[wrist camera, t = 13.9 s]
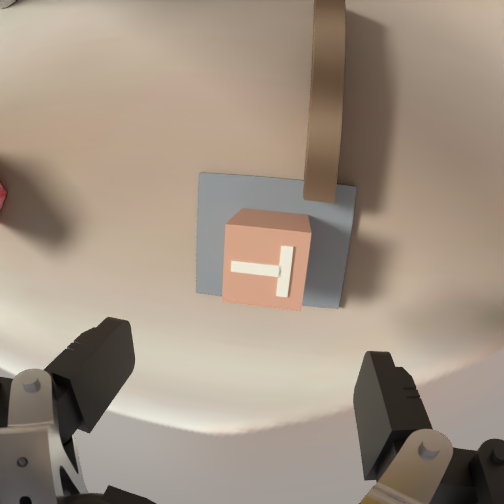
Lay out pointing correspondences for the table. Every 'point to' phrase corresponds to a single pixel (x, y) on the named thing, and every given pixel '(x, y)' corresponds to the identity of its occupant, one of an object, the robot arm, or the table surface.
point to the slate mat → (282, 200)
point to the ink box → (2, 195)
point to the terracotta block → (266, 258)
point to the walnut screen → (325, 101)
